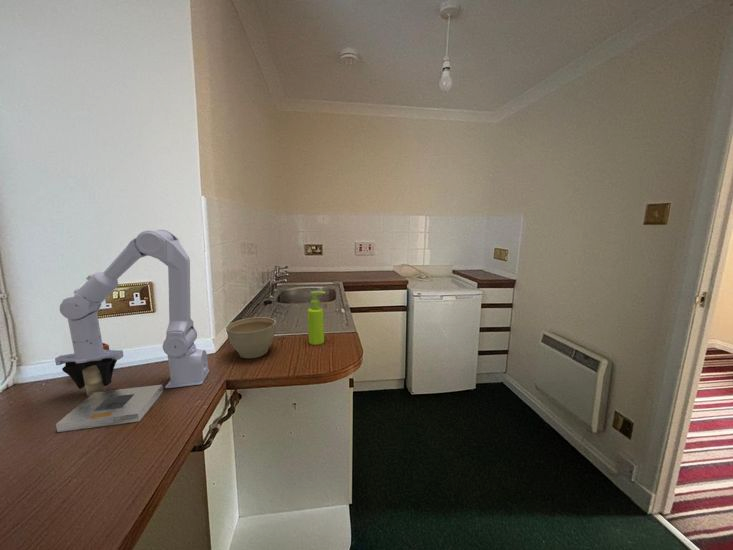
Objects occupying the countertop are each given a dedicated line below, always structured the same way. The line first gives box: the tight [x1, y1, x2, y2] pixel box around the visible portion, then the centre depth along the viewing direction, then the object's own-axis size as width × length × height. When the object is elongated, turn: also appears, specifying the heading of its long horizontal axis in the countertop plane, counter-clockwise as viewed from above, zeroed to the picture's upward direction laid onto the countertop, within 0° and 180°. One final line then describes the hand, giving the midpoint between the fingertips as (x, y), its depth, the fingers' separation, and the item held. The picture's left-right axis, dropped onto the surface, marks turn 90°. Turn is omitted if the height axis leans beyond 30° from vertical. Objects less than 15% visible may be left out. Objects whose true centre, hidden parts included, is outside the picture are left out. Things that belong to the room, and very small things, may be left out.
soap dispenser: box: [307, 290, 326, 346], centre depth 114 cm, size 6×7×20 cm
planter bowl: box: [225, 316, 277, 359], centre depth 105 cm, size 16×16×11 cm
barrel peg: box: [82, 365, 107, 397], centre depth 82 cm, size 4×4×7 cm
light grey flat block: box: [55, 384, 164, 433], centre depth 74 cm, size 16×13×2 cm
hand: (95, 385), depth 82 cm, fingers open, 5 cm apart
